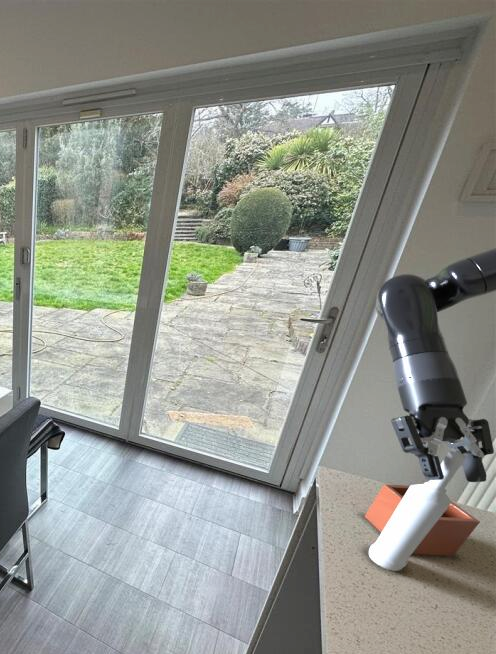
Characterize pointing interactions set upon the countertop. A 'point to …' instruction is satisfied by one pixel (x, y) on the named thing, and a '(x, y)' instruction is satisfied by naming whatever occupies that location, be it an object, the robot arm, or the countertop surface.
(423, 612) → the countertop surface
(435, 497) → the bottle
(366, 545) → the countertop surface
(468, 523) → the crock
